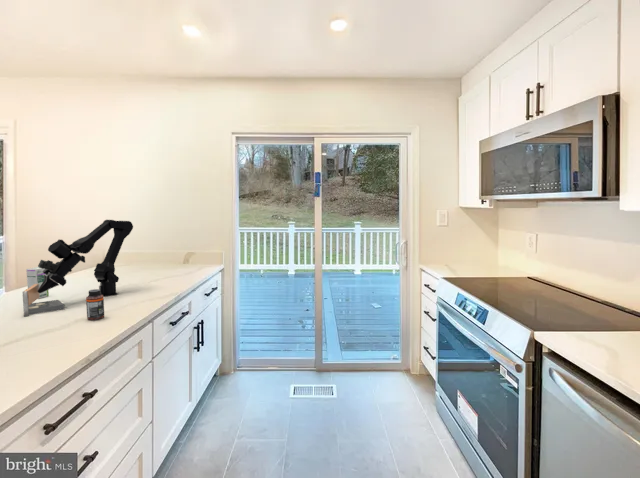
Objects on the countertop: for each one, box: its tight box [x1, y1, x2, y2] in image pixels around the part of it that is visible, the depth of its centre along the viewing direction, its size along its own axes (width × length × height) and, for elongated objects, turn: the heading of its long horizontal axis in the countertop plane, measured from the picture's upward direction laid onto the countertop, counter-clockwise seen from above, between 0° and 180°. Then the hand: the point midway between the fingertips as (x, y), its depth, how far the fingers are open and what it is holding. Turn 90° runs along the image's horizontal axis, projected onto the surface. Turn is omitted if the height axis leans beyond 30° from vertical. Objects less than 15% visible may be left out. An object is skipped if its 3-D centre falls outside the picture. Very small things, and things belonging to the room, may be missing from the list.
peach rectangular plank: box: [24, 284, 40, 305], centre depth 157 cm, size 2×14×6 cm, turn 24°
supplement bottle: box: [85, 288, 105, 321], centre depth 147 cm, size 6×6×11 cm
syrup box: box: [25, 266, 50, 300], centre depth 179 cm, size 6×6×14 cm
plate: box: [22, 290, 65, 317], centre depth 158 cm, size 14×14×10 cm
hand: (38, 292), depth 161 cm, fingers closed
